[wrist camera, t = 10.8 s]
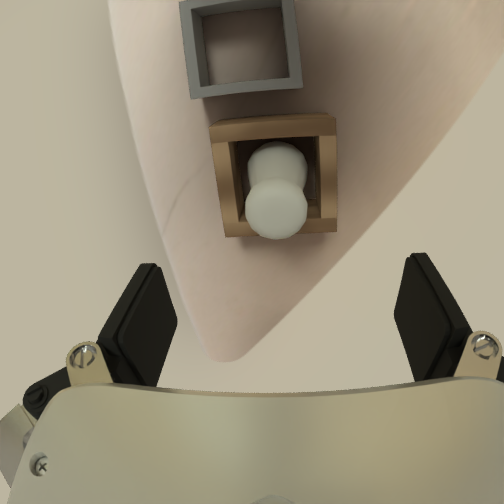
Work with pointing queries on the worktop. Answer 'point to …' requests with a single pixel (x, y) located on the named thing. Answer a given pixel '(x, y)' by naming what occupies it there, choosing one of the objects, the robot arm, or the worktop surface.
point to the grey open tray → (196, 6)
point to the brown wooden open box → (276, 126)
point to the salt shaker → (276, 190)
